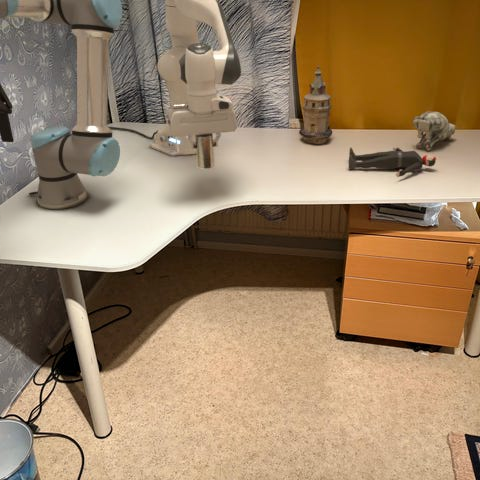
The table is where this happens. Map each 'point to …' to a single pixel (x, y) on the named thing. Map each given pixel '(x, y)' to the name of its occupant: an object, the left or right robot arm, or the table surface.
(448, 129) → the figurine
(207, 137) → the canister
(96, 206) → the table surface
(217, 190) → the table surface
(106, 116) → the left robot arm
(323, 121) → the miniature building
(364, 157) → the toy
